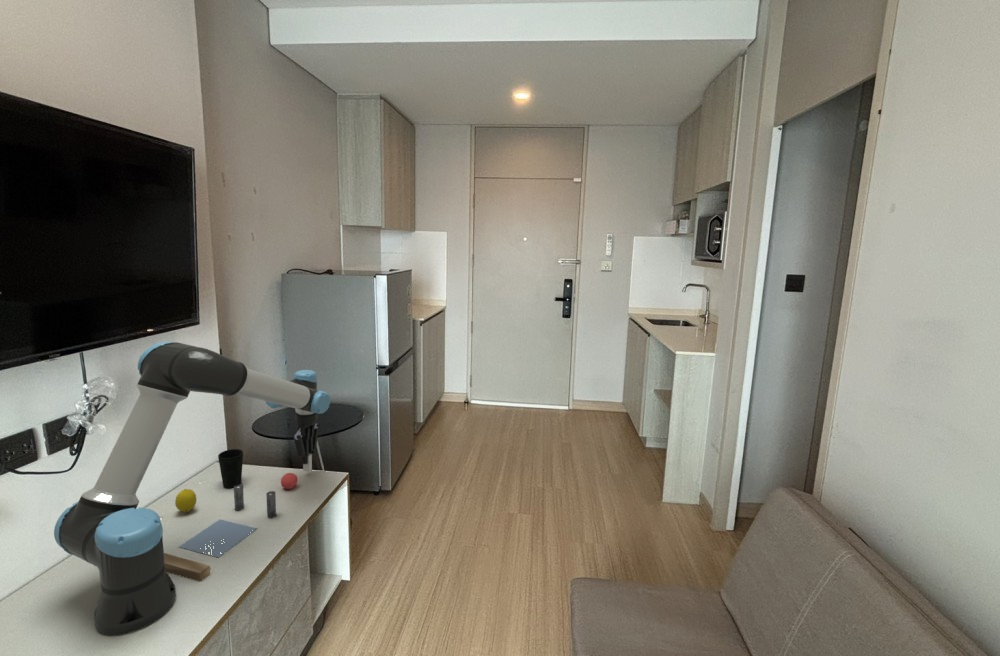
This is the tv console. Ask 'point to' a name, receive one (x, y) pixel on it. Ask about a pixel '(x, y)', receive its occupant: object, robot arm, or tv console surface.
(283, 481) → the ball
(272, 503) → the post right
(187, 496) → the lemon
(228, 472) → the cup
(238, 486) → the post left
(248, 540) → the tv console surface
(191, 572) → the wall
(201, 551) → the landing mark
